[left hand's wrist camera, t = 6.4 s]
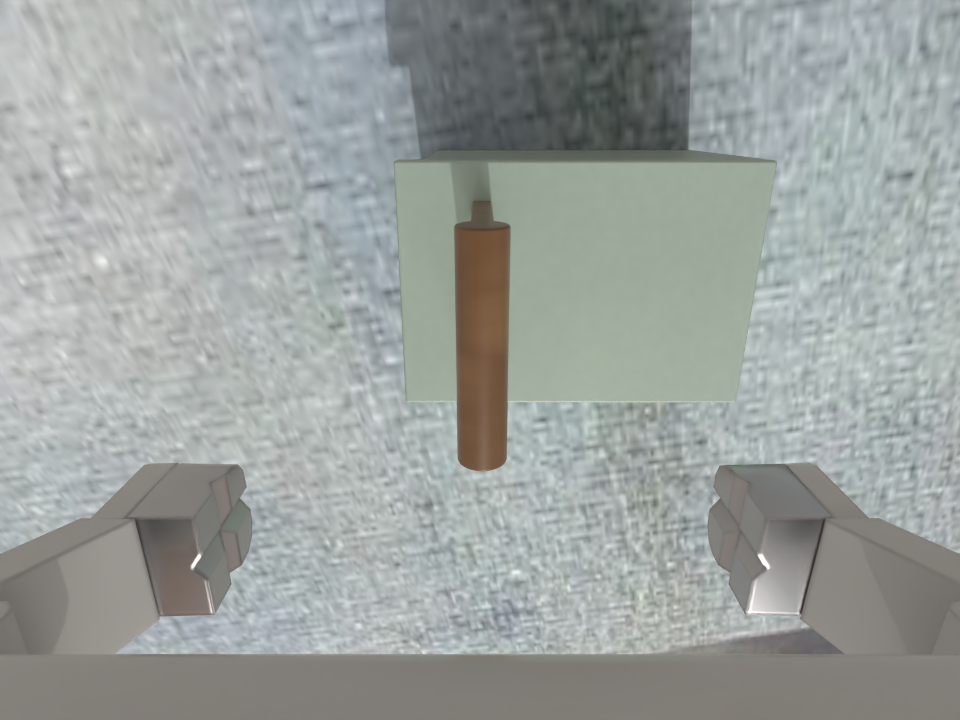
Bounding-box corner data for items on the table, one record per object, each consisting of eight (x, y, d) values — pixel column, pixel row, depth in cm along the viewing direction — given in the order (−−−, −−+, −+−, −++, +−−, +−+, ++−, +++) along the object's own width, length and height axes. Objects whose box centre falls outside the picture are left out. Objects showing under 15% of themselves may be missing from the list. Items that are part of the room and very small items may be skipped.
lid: (408, 394, 26) (376, 507, 18) (396, 159, 22) (352, 177, 15) (728, 394, 26) (832, 508, 18) (767, 159, 22) (917, 177, 15)
